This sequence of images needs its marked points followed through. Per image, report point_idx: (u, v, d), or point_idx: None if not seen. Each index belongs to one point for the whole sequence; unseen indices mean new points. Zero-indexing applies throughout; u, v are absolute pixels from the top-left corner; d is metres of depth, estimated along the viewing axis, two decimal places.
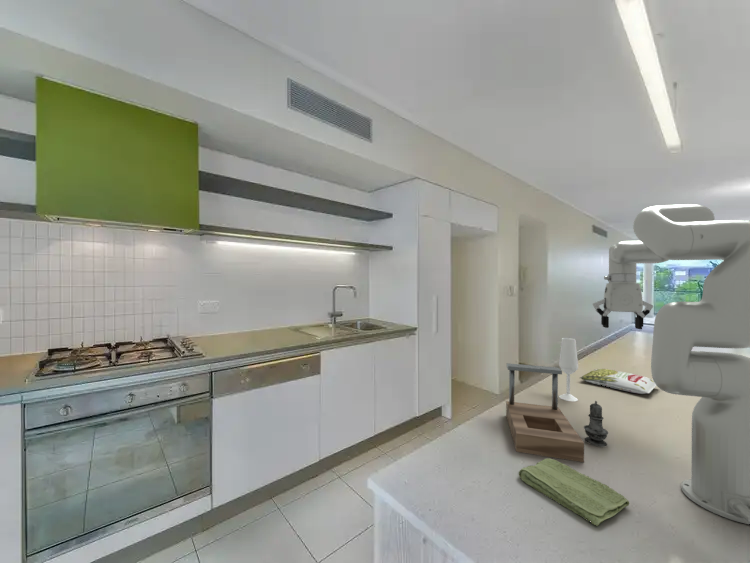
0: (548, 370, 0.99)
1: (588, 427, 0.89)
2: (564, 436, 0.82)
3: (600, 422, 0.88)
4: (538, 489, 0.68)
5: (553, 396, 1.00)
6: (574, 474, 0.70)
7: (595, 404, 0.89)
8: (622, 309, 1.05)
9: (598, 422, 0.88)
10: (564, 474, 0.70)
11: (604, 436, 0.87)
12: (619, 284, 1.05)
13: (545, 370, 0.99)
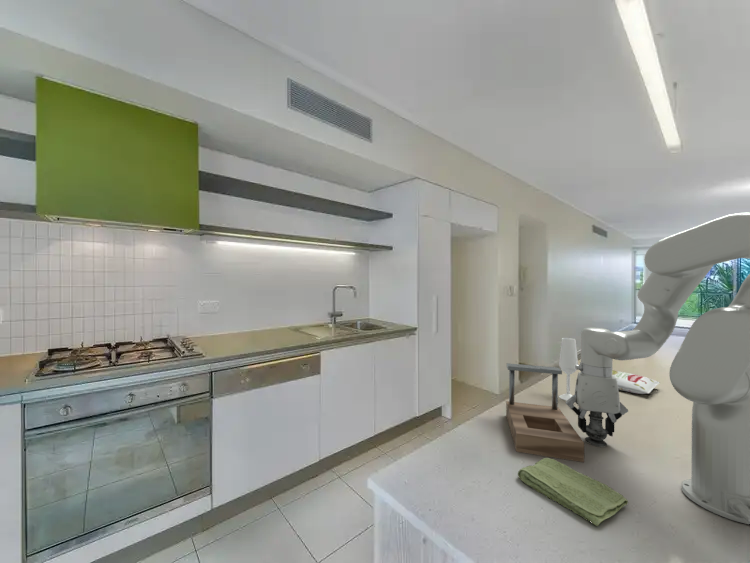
0: (548, 370, 0.99)
1: (588, 427, 0.89)
2: (564, 436, 0.82)
3: (600, 422, 0.88)
4: (538, 489, 0.67)
5: (553, 396, 1.00)
6: (573, 473, 0.70)
7: None
8: (595, 409, 0.87)
9: (598, 422, 0.88)
10: (563, 473, 0.70)
11: (604, 436, 0.87)
12: (592, 378, 0.87)
13: (545, 370, 0.99)
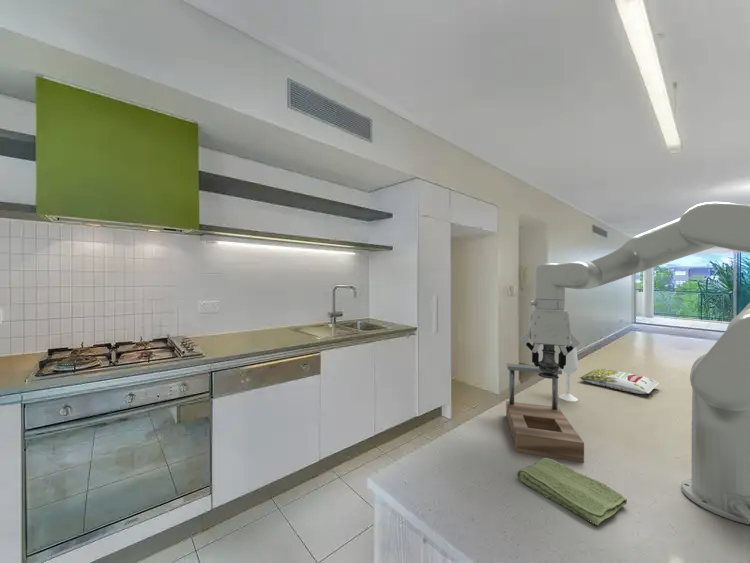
0: None
1: (541, 361, 0.90)
2: (564, 436, 0.82)
3: (552, 355, 0.89)
4: (537, 490, 0.67)
5: (553, 396, 1.00)
6: (572, 473, 0.70)
7: None
8: (547, 342, 0.88)
9: (550, 355, 0.89)
10: (562, 473, 0.70)
11: (555, 368, 0.88)
12: (545, 311, 0.88)
13: None
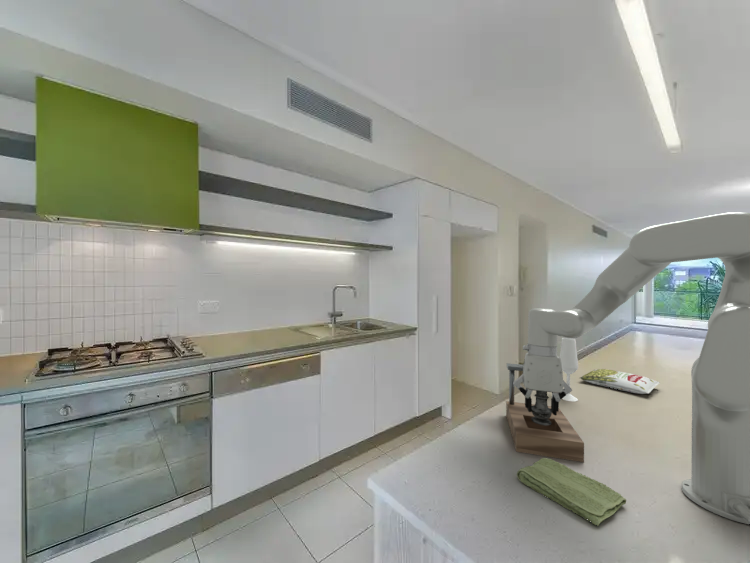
0: None
1: (534, 406, 0.90)
2: (564, 436, 0.82)
3: (545, 401, 0.89)
4: (537, 490, 0.67)
5: None
6: (571, 473, 0.70)
7: None
8: (540, 388, 0.88)
9: (542, 401, 0.89)
10: (561, 473, 0.70)
11: (548, 415, 0.87)
12: (537, 358, 0.88)
13: None
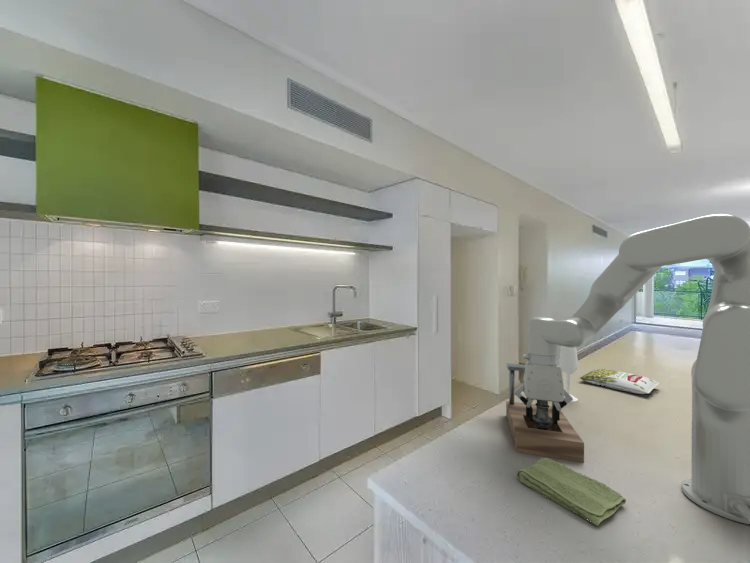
0: None
1: (535, 416, 0.90)
2: (564, 436, 0.82)
3: (546, 410, 0.88)
4: (537, 490, 0.67)
5: None
6: (571, 473, 0.70)
7: None
8: (540, 397, 0.87)
9: (543, 411, 0.88)
10: (561, 473, 0.70)
11: (549, 424, 0.87)
12: (538, 367, 0.88)
13: None
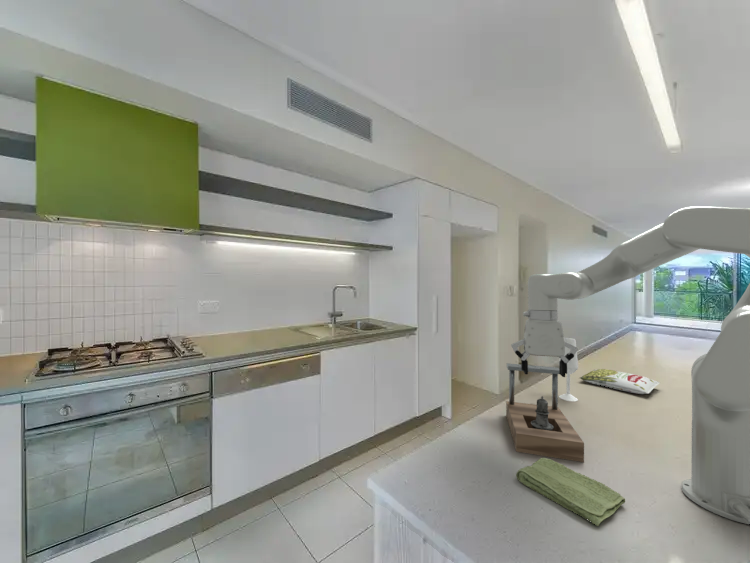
0: (548, 370, 0.99)
1: (534, 422, 0.90)
2: (564, 436, 0.82)
3: (545, 417, 0.88)
4: (537, 490, 0.67)
5: (553, 396, 1.00)
6: (570, 473, 0.70)
7: (541, 399, 0.90)
8: (541, 353, 0.87)
9: (543, 417, 0.88)
10: (561, 473, 0.70)
11: None
12: (538, 322, 0.88)
13: (545, 370, 0.99)
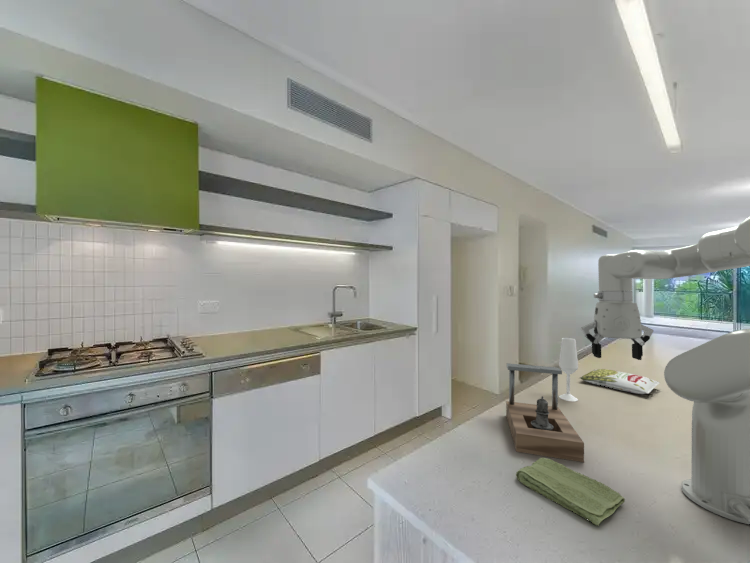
0: (548, 370, 0.99)
1: (535, 422, 0.90)
2: (564, 436, 0.82)
3: (545, 417, 0.88)
4: (536, 490, 0.67)
5: (553, 396, 1.00)
6: (570, 473, 0.70)
7: (541, 399, 0.90)
8: (617, 335, 0.84)
9: (543, 417, 0.88)
10: (560, 473, 0.70)
11: None
12: (613, 304, 0.85)
13: (545, 370, 0.99)
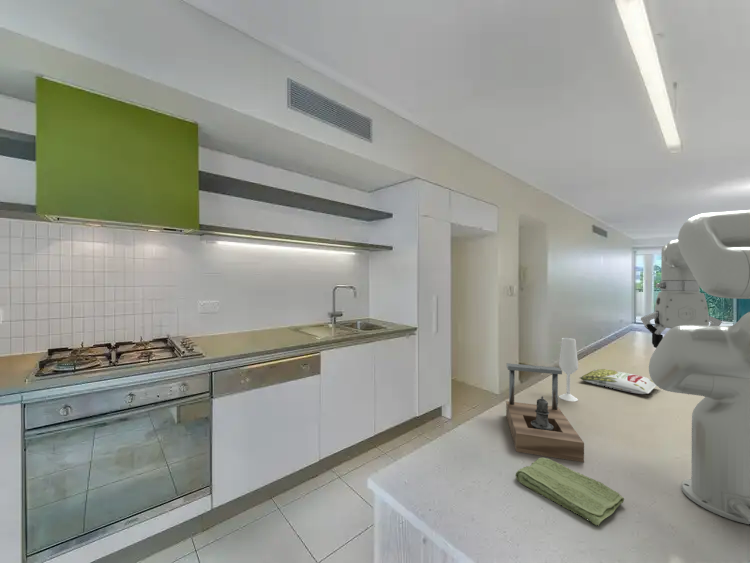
0: (548, 370, 0.99)
1: (534, 422, 0.90)
2: (564, 436, 0.82)
3: (545, 417, 0.88)
4: (536, 490, 0.67)
5: (553, 396, 1.00)
6: (569, 473, 0.70)
7: (541, 399, 0.90)
8: None
9: (543, 417, 0.88)
10: (560, 473, 0.70)
11: None
12: (678, 293, 0.82)
13: (545, 370, 0.99)
